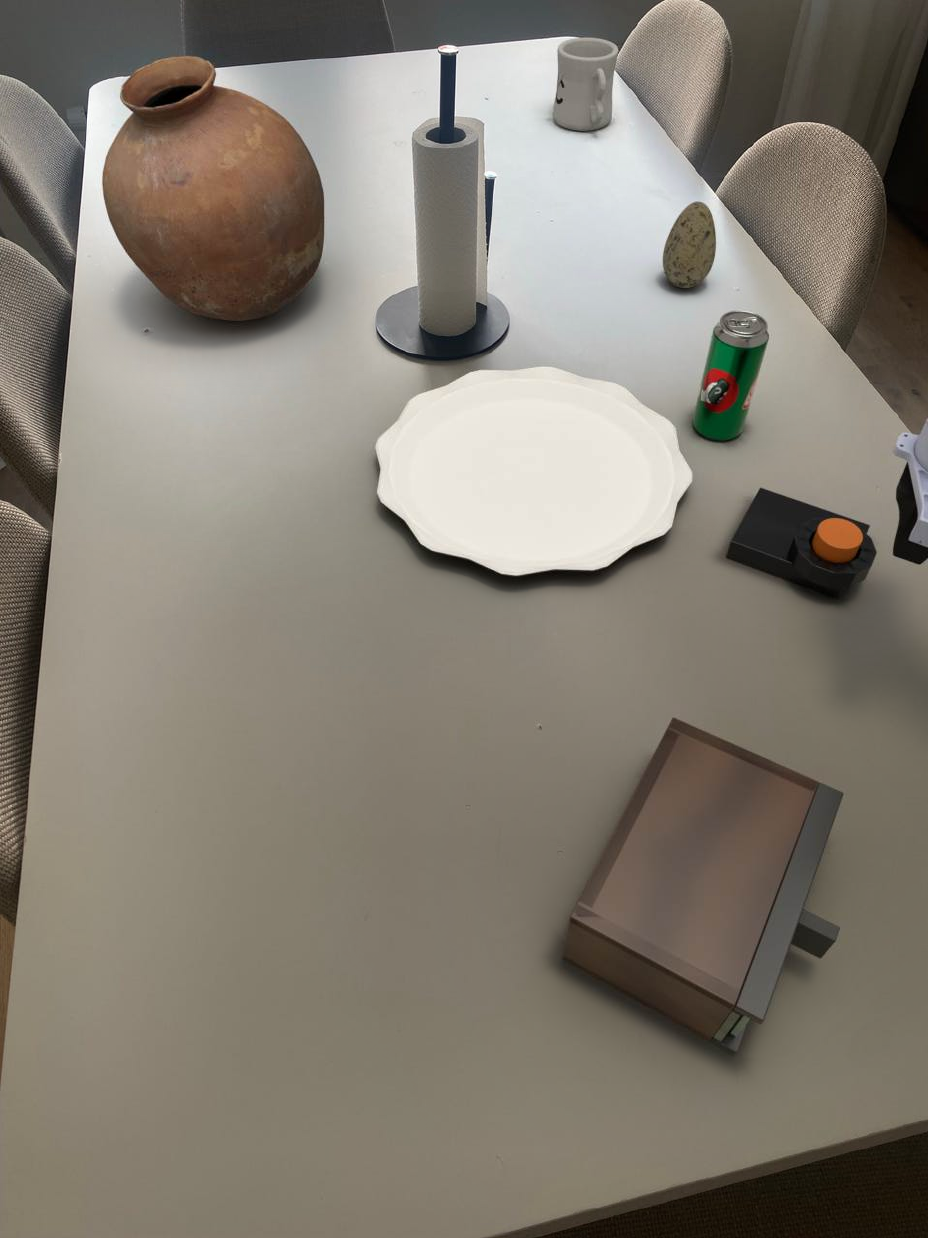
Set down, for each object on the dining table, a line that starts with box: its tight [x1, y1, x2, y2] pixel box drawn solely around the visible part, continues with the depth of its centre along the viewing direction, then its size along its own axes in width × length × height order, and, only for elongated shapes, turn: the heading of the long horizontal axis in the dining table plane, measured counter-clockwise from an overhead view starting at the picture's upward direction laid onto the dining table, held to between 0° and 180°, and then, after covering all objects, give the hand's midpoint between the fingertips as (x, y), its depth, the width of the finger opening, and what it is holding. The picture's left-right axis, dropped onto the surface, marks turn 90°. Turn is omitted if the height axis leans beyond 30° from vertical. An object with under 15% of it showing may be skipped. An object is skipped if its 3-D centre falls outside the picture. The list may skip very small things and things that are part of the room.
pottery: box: [101, 55, 325, 322], centre depth 99 cm, size 23×23×25 cm
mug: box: [552, 37, 619, 132], centre depth 136 cm, size 12×9×10 cm
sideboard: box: [560, 717, 845, 1056], centre depth 58 cm, size 12×16×7 cm
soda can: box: [692, 310, 770, 442], centre depth 88 cm, size 5×5×12 cm
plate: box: [374, 365, 693, 578], centre depth 87 cm, size 29×29×2 cm
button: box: [812, 518, 863, 563], centre depth 76 cm, size 4×4×2 cm
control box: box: [725, 487, 878, 601], centre depth 79 cm, size 11×9×4 cm
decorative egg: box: [662, 201, 717, 289], centre depth 106 cm, size 6×6×10 cm
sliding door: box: [731, 908, 841, 1036], centre depth 54 cm, size 3×8×5 cm, turn 150°
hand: (908, 554), depth 67 cm, fingers closed
